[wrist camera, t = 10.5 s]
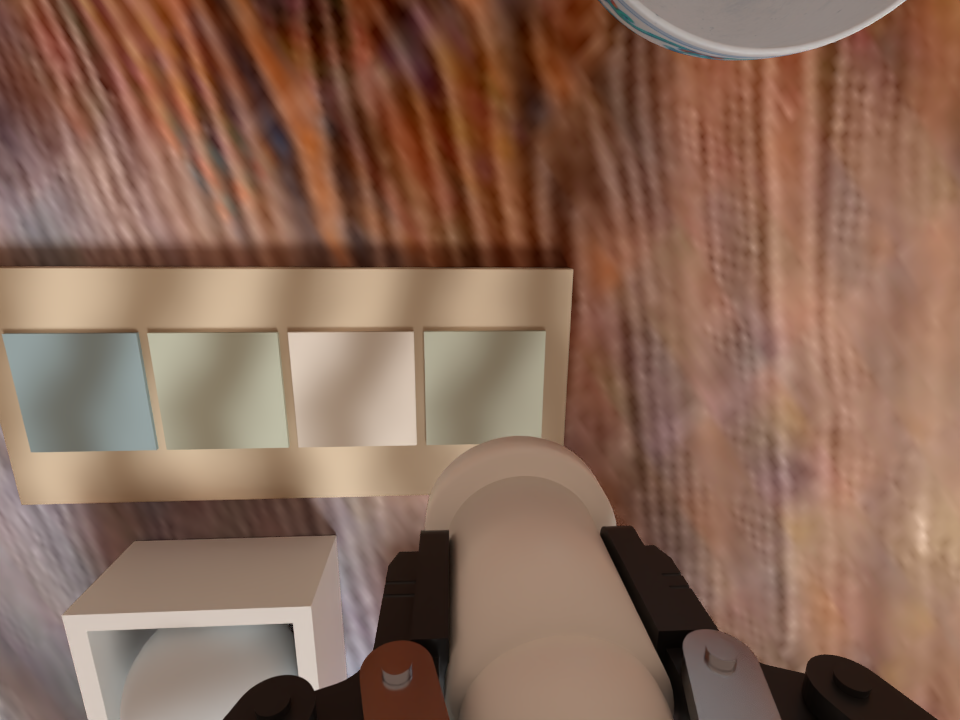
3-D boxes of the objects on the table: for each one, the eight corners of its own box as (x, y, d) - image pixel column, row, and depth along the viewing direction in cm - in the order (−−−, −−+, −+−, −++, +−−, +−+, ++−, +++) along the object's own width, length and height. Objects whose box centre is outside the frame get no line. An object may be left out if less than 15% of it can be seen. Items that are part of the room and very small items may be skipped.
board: (568, 267, 26) (574, 269, 24) (557, 482, 29) (561, 493, 28) (-21, 266, 24) (-44, 268, 23) (36, 494, 27) (18, 506, 26)
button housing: (336, 535, 29) (310, 606, 24) (348, 689, 32) (328, 783, 26) (134, 541, 28) (61, 615, 23) (165, 698, 31) (107, 796, 26)
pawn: (610, 434, 14) (822, 710, 6) (597, 592, 16) (757, 991, 7) (424, 436, 14) (387, 730, 6) (427, 597, 15) (400, 1018, 7)
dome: (310, 561, 29) (260, 685, 21) (321, 674, 31) (279, 824, 23) (164, 566, 28) (59, 694, 21) (185, 680, 31) (97, 835, 23)
